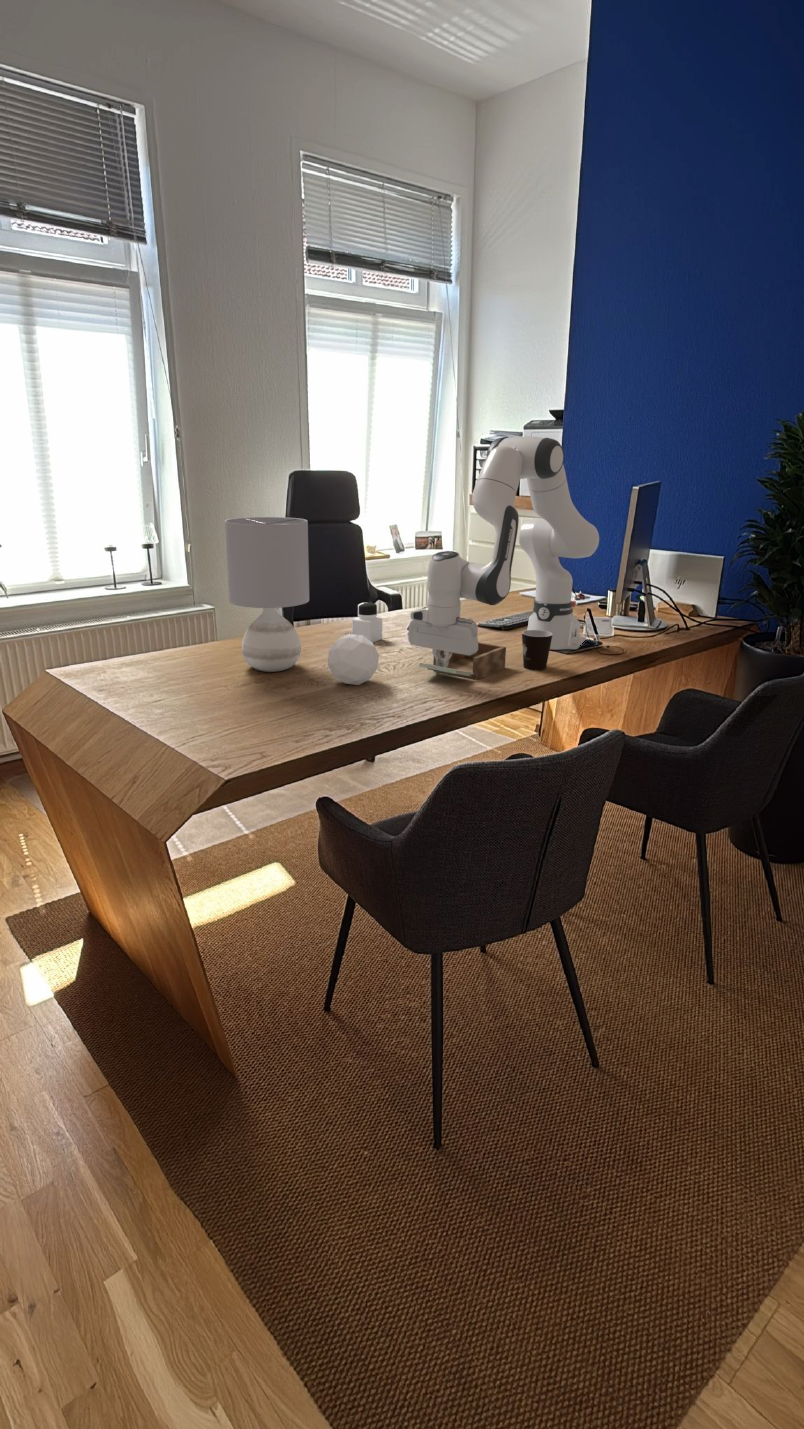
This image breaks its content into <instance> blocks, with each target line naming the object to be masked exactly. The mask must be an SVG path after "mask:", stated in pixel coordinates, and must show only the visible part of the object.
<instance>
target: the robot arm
mask: <svg viewBox="0 0 804 1429" xmlns="http://www.w3.org/2000/svg"><path fill="white" fill-rule="evenodd" d="M564 458H565V452H564V448H563V446H562V444H560V441H558V440H556V439H554V438H552V437H551V438H550V437H538V436H532V435H526V436H525V435H524V436H512V437H509V436H502V437H499V438H496V439H494V440H493V441H492V442H491V444H490V445H489V447H488V448H487V452H486V459H485V460H484V463H483V464H482V467H481V469H480V472H479V474H478V476H477V480H476V482H475V485H474V488H473V491H472V497H471V502H472V506H473V508H474V510H475V512H476V513H477V515H478V516H479V517H480V518H482V519H483V520H485V521H486V522H487V523H489V524H490V525H492V526H493V527H494V529H495V539H494V545H493V551H492V556H491V560H490V562H489V563H487V564H483V563H476V562H470V561H469V560H465V559H464V558H462V557H461V555H460V554H459V553H458V552H457V551H454V550H453V551H452V550H446V551H438V552H436V553H435V554H434V553H433V555H432V556H431V557H430V560H429V563H428V568H427V582H426V583H427V584H426V586H427V588H426V589H427V592H428V598H427V601H426V606H424V607H422V608H418V609H416V610H413V611H411V612H410V615H409V616H410V619H411V620H410V621H409V625H408V636H407V637H408V642H409V644H410V645H411V646H415V647H421V648H426V649H432V651H431V652H432V654H433V658H434V657H435V659H436V665H437V666H442V667H447V666H448V663H449V659H450V657H451V656H452V654H453V653H458V654H463V655H469V656H470V655H473V654H475V653H476V652H477V651H478V642H479V638H478V630H479V629H478V625H477V623H476V622H475V621H474V620H473V619H472V618H464V617H461V604H462V603H461V598H462V599H465V600H469V601H473V602H474V601H475V602H480V603H482V604H486V605H489V606H496V605H498V604H500V603H501V602H502V601H504V600H505V599H506V598H507V596H508V595H509V593H510V591H511V590H510V589H511V585H512V583H511V582H512V581H511V580H512V577H511V575H512V566H513V562H514V554H515V548H516V543H517V538H518V543H519V546H520V548H521V550H523V551H524V552H525V553H526V554H527V556H528V557H529V559H530V561H531V563H532V566H533V568H534V572H535V599H534V600H533V604H532V608H533V609H532V611H533V613H532V614H531V615H530V616H528V617H529V618H528V625H527V629H526V630H543V631H548V632H551V633H552V634H553V635H552V640H551V645H550V650H553V651H556V650H557V651H558V650H578V649H579V648H580V647H581V646H583V644H584V643H585V642H586V641H587V636H584V635H580V632H581V622H580V621H579V620H578V619H577V618H576V616H575V615H574V613H573V612H574V608H575V607H576V604H577V601H576V600H572V593H573V577H572V574H571V573H570V571H568V570H567V569H565V568H564V567H563V566H562V565H561V562H560V559H559V558H568V559H582V558H588V557H591V556H592V555H594V554H595V552H596V550H597V549H598V547H599V543H600V535H599V534H600V533H599V532H598V529H597V528H596V526H595V525H593V524H592V523H590V522H589V521H588V520H586V519H585V518H584V517H583V515H581V513H580V512H579V511H578V510H577V508H576V507H575V505H574V503H573V501H572V498H571V494H570V490H569V485H568V484H569V483H568V480H567V474H566V470H565V466H564ZM523 479H526V481H527V486H528V491H529V496H530V497H529V498H530V501H531V506H532V509H533V511H534V512H535V514H536V515H538V516H539V517H540V518H534V519H530V520H526V521H525V522H524V523H523V524H522V525H521V526H520V528H519V522H520V521H519V520H520V519H519V518H520V517H519V512H518V511H517V509H516V508H515V499H516V495H517V492H518V489H519V485H520V481H521V480H523ZM585 640H586V641H585ZM584 641H585V642H584ZM583 642H584V643H583ZM582 643H583V644H582ZM580 645H581V646H580ZM441 650H442V651H444V655H446V656H445V658H444V659H443V658H441V655H440V653H439V652H441Z"/></svg>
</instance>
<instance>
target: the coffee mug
mask: <svg viewBox="0 0 804 1429" xmlns="http://www.w3.org/2000/svg"><path fill="white" fill-rule="evenodd" d="M552 635H553V634H552V633H551V632H548V631H543V630H527V629H526V630H523V631H522V632H521V644H522V661H523V668H524V669H526V670H528V671H529V670H530V671H543V670H546V669H547V664H548V660H549V654H550V651H551V649H550V645H551V640H552Z"/></svg>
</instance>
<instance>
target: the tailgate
mask: <svg viewBox="0 0 804 1429" xmlns="http://www.w3.org/2000/svg"><path fill="white" fill-rule="evenodd" d="M418 667H419V668H420V667H421V668H425V669H427V670H430V671H433V670H434V671H433V672H436V671H439V672H438V673H441V672H443V673H442V674H446V673H448V674H447V675H450V674H451V673H454V674H460V675H466V676H470V675H471V672H466V671H461V670H456V669H451V668H446V667H441V666H436V665H433V664H429V663H424V662H419V665H418Z"/></svg>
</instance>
